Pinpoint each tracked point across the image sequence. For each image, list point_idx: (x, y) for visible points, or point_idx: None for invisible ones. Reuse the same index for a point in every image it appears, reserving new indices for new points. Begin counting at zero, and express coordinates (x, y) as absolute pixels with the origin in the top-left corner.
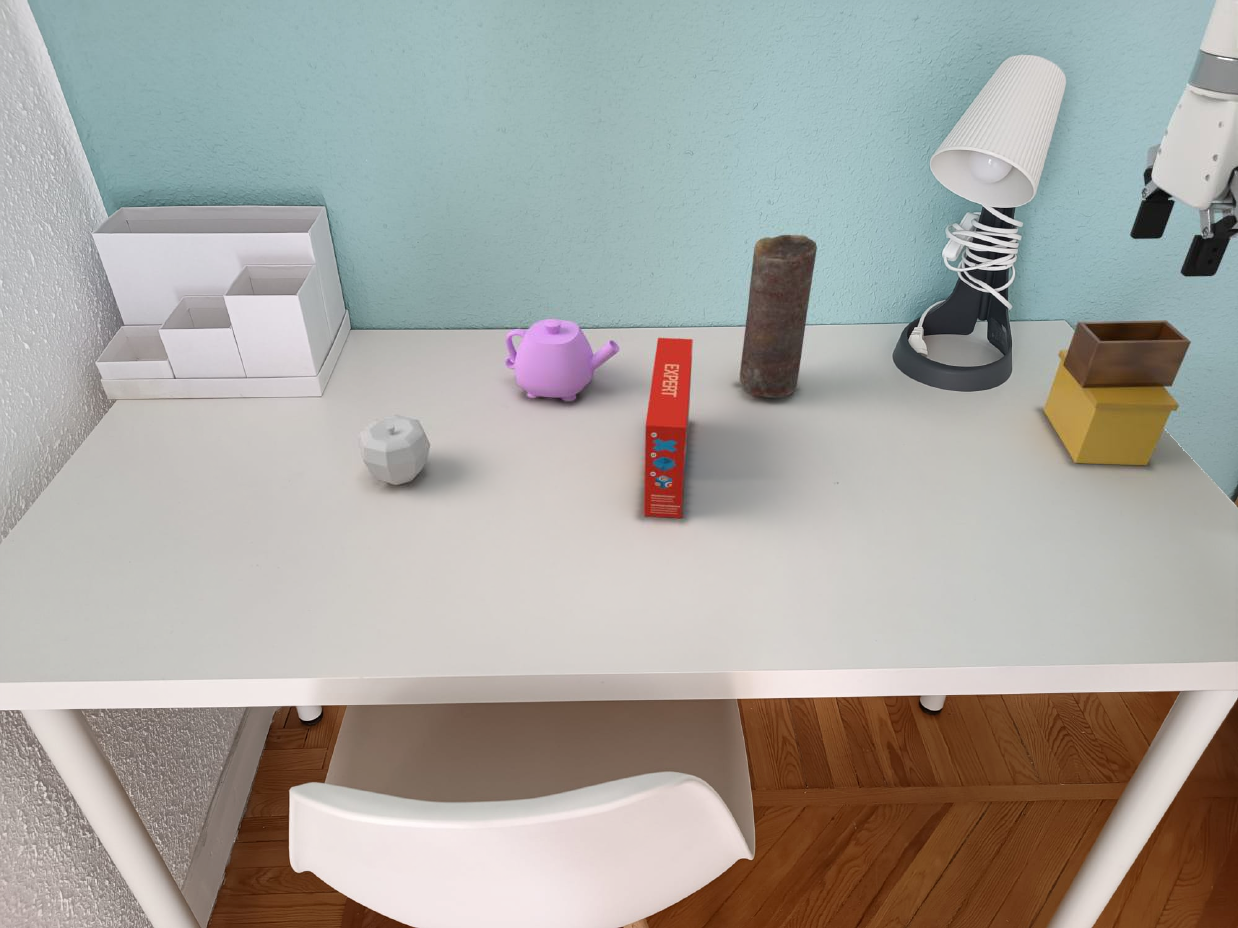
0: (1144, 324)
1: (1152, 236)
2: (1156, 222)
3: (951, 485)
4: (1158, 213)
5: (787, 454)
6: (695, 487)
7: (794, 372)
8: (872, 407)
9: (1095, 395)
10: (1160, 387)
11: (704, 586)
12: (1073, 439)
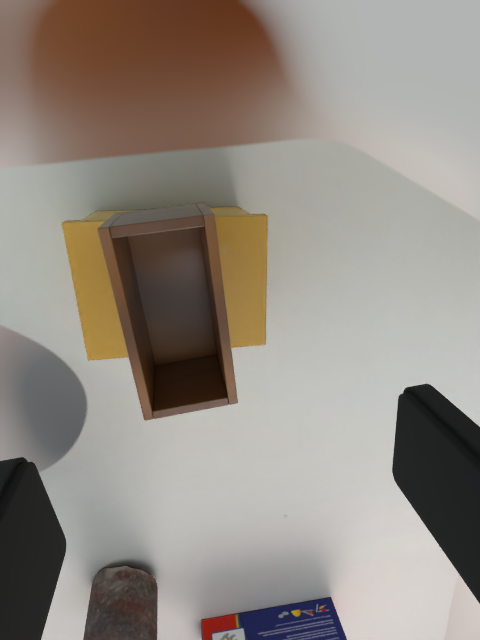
0: (122, 284)
1: (42, 497)
2: (19, 564)
3: (287, 430)
4: (2, 624)
5: (243, 552)
6: (293, 597)
7: (142, 599)
8: (143, 494)
9: (245, 341)
10: None
11: (398, 573)
12: None
